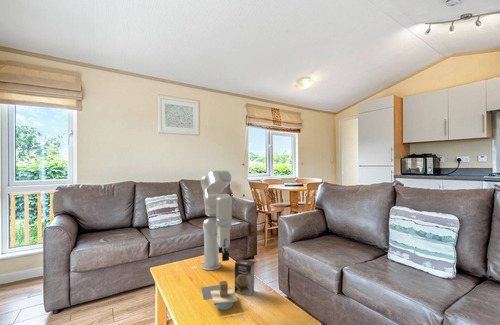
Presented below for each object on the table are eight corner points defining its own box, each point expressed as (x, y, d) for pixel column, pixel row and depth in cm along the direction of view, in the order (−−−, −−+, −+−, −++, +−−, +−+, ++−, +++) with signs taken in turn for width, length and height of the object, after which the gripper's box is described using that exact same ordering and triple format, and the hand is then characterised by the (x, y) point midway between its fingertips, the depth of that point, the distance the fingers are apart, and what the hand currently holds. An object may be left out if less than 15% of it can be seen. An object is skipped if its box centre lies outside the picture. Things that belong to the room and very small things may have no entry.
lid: (210, 292, 117) (210, 278, 117) (232, 289, 121) (232, 275, 121) (213, 305, 107) (213, 290, 107) (237, 301, 110) (237, 286, 110)
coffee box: (234, 293, 123) (234, 263, 123) (238, 287, 130) (238, 258, 130) (250, 297, 120) (250, 265, 120) (254, 290, 126) (254, 260, 126)
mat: (201, 288, 128) (201, 287, 128) (223, 285, 132) (223, 284, 132) (203, 301, 117) (203, 299, 117) (227, 297, 120) (227, 295, 120)
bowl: (213, 301, 117) (213, 293, 117) (230, 298, 119) (230, 290, 119) (215, 312, 108) (215, 303, 108) (235, 308, 111) (235, 300, 111)
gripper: (213, 218, 123) (213, 250, 123) (219, 227, 106) (218, 265, 107) (227, 217, 125) (227, 249, 125) (235, 226, 108) (235, 263, 109)
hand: (223, 256), depth 116 cm, fingers open, 9 cm apart
